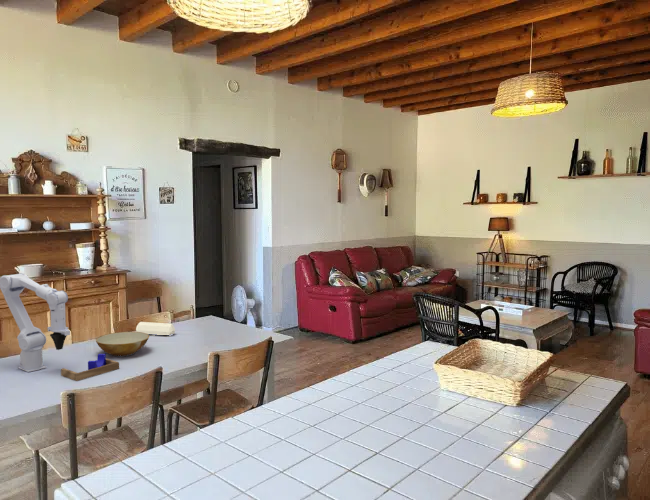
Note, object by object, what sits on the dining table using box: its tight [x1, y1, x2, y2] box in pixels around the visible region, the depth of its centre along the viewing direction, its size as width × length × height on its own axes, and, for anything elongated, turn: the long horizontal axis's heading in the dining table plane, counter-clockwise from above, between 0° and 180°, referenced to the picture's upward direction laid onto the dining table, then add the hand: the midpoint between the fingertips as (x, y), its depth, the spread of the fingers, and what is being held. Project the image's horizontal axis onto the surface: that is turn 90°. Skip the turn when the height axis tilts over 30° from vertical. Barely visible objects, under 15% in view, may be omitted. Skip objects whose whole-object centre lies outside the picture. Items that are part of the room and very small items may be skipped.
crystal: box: [135, 321, 176, 335], centre depth 283 cm, size 7×7×24 cm
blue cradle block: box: [87, 353, 107, 370], centre depth 218 cm, size 12×4×6 cm, turn 3°
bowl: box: [95, 331, 150, 357], centre depth 245 cm, size 25×25×8 cm
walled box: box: [60, 358, 120, 382], centre depth 216 cm, size 12×20×3 cm, turn 147°
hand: (59, 349), depth 214 cm, fingers closed
